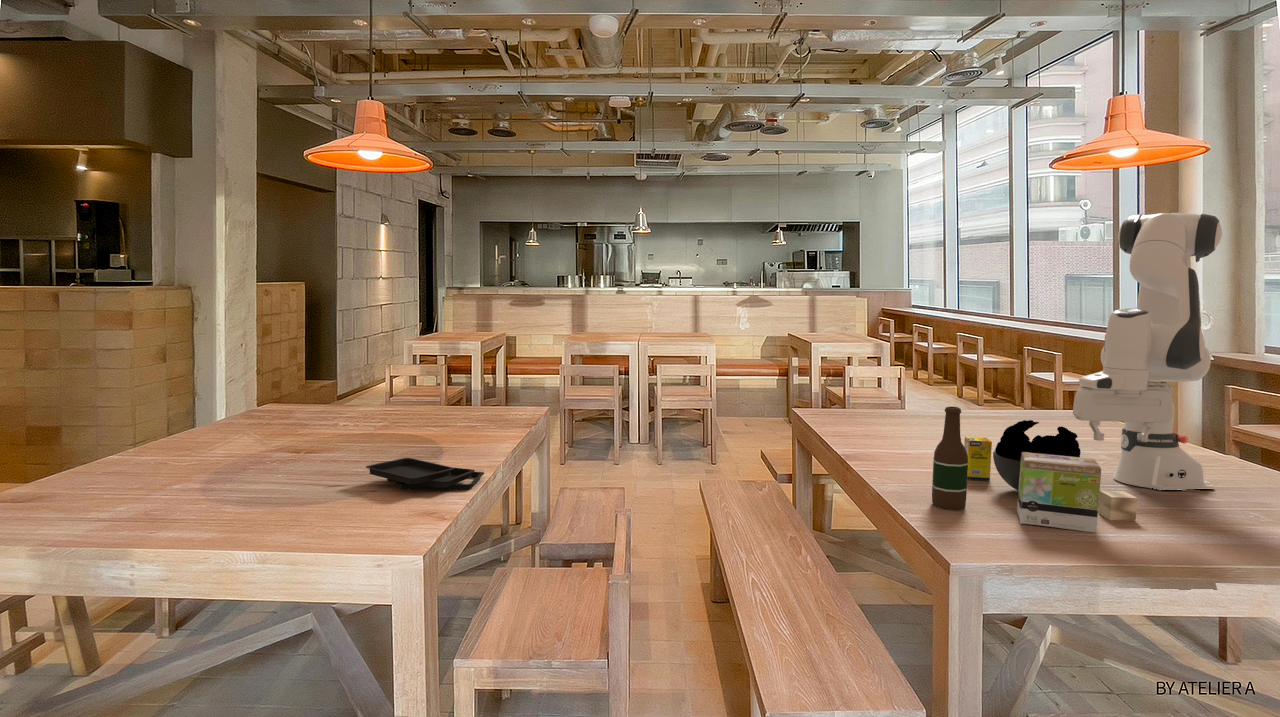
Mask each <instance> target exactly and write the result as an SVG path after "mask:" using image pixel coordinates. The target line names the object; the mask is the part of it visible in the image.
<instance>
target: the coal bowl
mask: <svg viewBox="0 0 1280 717" xmlns="http://www.w3.org/2000/svg"><path fill="white" fill-rule="evenodd" d="M1038 424H1040V422H1039V421H1034V420H1031V419H1028V420H1026V419H1023V420H1021V421H1017V422H1016V423H1014V424H1013V425H1010V426H1008V427H1006V429H1004V431H1003V433H1002V436H1001V437H1000V441H999V442H997V444H996V446H995V449H994V450H993V452H992V458H993V462H994V466H995V469H996V471H997V473H998V474H999V476H1000V477H1001V478H1002V480H1003V481H1004V482H1005V483H1006V484H1007V485H1009V486H1010V487H1011V488H1013V489H1014V490H1016V491H1017V492H1018V491H1019V477H1020V464H1021V454H1022V452H1027V453H1037V454H1048V455H1059V456H1069V457H1080V458H1081V453H1082V452H1081V448H1080V444H1079V441H1078V440H1077V439H1078V438H1079V436H1078V435H1077V433H1076V432H1072V430H1069V429H1068V428H1067V427H1064V426H1058V427H1057V430H1056V431H1057V432H1058V433H1056V434H1055V435H1049V434H1048V435H1044V436H1042V435H1039V434H1037V435H1036V436H1034V437H1033V438H1032V440H1031V438H1030V437H1029V436H1028V435H1027V434H1026V431H1028V430H1029V429H1032V428H1033V427H1034V426H1035V425H1038ZM1030 440H1031V441H1030Z"/></svg>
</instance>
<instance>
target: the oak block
mask: <svg viewBox="0 0 1280 717" xmlns="http://www.w3.org/2000/svg"><path fill="white" fill-rule="evenodd" d="M1137 503H1138V497H1136V496H1134V495H1132V494H1130V493H1128V492H1126V491H1122V490H1120V491H1119V490H1117V491H1116V490H1100V491H1099V504H1098V513H1099V515H1100V514H1101V515H1100V516H1102V515H1103V516H1104V517H1103V516H1102V517H1103V518H1105V517H1106V518H1105V519H1107V518H1108V519H1110V520H1136V519H1137V518H1136V517H1137V506H1138V504H1137ZM1108 519H1107V520H1108ZM1110 520H1109V521H1110Z"/></svg>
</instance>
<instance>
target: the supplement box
mask: <svg viewBox="0 0 1280 717" xmlns="http://www.w3.org/2000/svg"><path fill="white" fill-rule="evenodd" d="M963 445H964V447H965V449H966V452H967V455H968V474H967V480H969V479H973V480H974V481H986V480H989V481H991V469H992V468H991V466H992V465H991V463H992V447H993V441H992V440H990V439H989V438H988V437H983V436H982V437H981V436H964V444H963Z"/></svg>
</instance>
